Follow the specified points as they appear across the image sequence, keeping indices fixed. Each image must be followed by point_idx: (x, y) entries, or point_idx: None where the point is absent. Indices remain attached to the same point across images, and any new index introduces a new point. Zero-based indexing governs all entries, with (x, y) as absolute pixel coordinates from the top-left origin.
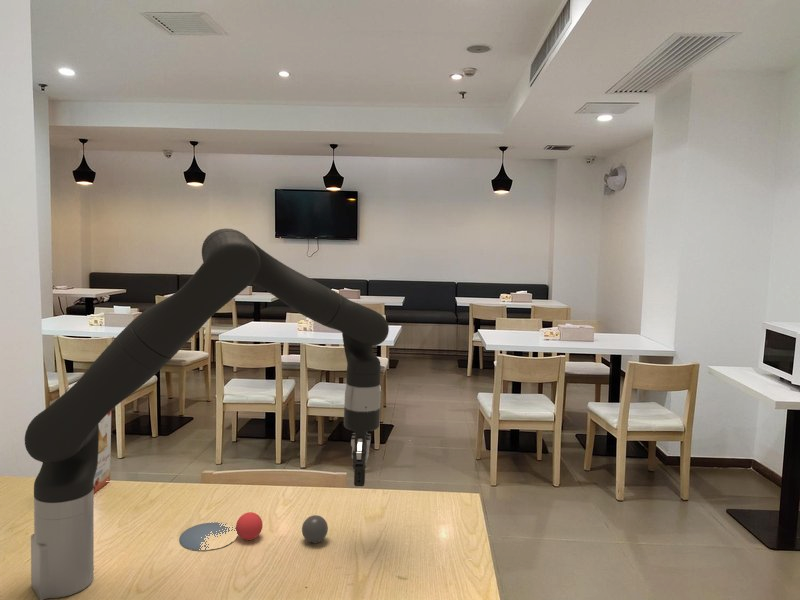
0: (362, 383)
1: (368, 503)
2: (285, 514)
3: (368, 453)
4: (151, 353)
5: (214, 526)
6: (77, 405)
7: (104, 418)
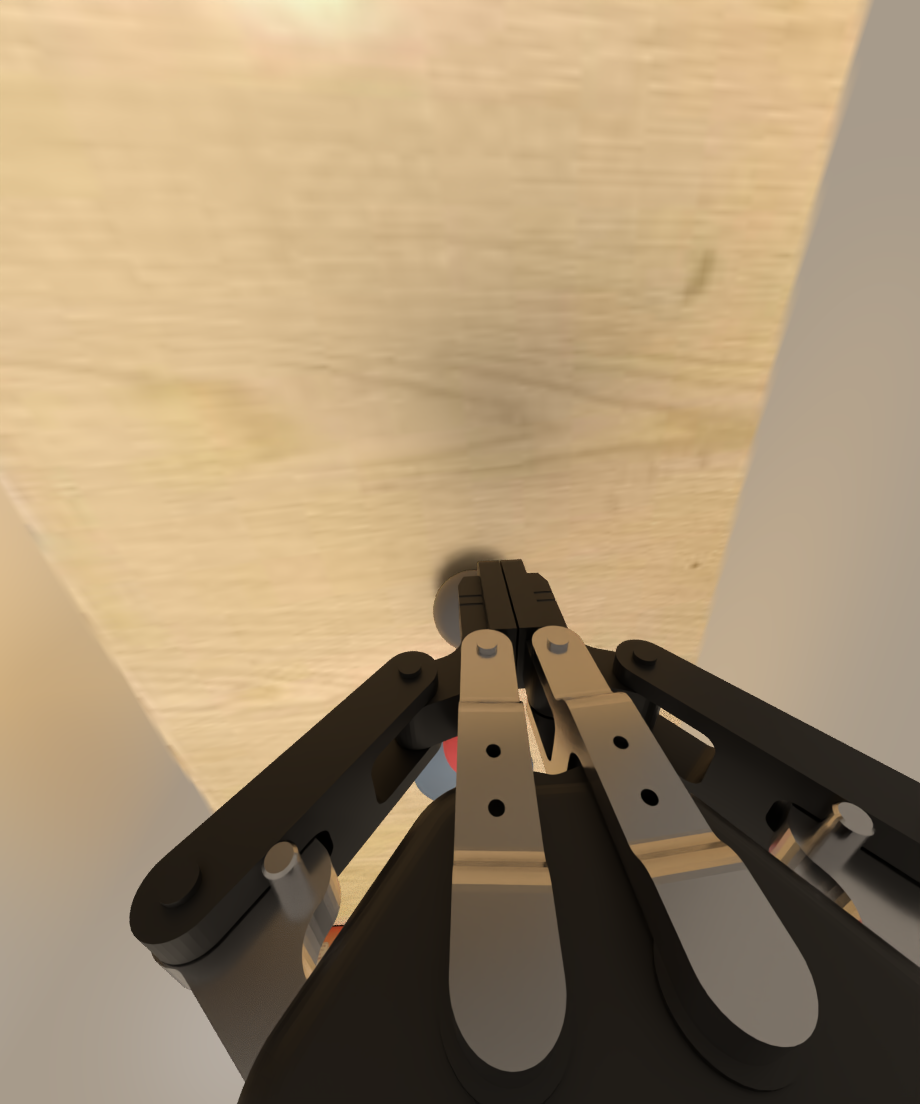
0: None
1: (138, 456)
2: (331, 678)
3: (599, 734)
4: None
5: (434, 777)
6: None
7: None
